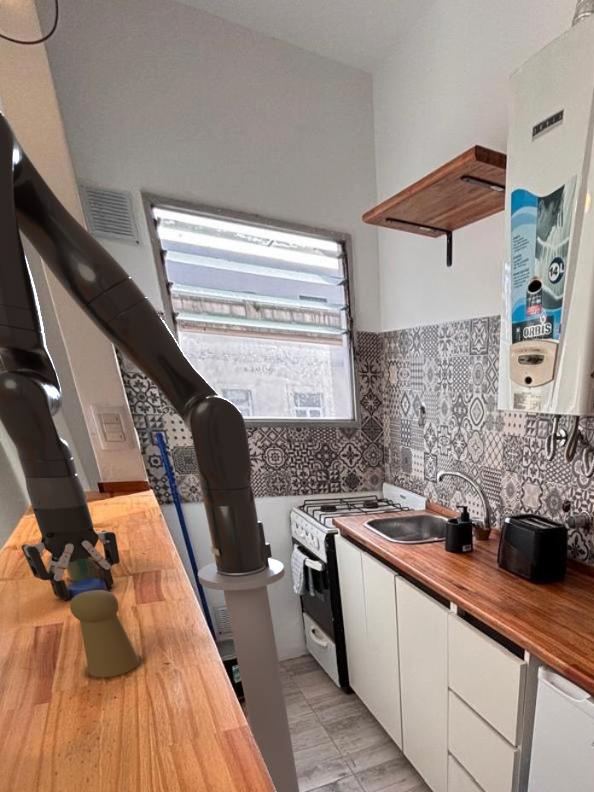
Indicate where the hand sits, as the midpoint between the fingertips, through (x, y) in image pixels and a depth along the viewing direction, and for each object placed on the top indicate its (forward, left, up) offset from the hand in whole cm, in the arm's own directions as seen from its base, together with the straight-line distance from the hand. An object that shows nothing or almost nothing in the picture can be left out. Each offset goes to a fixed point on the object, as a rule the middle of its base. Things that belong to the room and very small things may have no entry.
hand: (86, 593), depth 95 cm
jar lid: (0, 0, +1) cm, 1 cm away
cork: (+12, +31, 0) cm, 33 cm away
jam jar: (-5, -9, 0) cm, 10 cm away
